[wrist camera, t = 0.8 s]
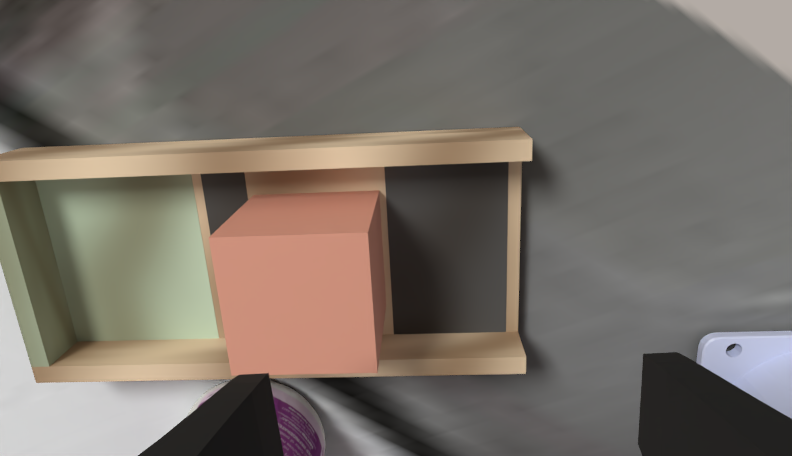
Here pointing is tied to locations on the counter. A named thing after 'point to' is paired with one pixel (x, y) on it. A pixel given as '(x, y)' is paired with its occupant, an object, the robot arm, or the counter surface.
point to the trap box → (214, 204)
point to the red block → (302, 283)
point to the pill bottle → (289, 421)
